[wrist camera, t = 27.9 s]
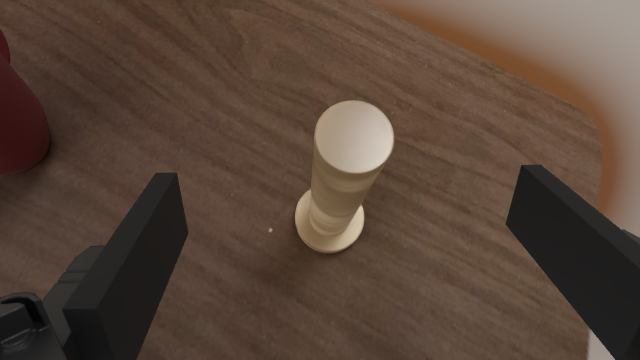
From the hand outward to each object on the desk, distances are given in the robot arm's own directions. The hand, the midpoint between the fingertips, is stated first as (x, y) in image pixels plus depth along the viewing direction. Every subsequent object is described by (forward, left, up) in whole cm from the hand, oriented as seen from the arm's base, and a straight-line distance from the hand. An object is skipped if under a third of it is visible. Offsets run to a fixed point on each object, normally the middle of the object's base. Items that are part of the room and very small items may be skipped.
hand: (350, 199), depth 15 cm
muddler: (0, -1, -11) cm, 11 cm away
